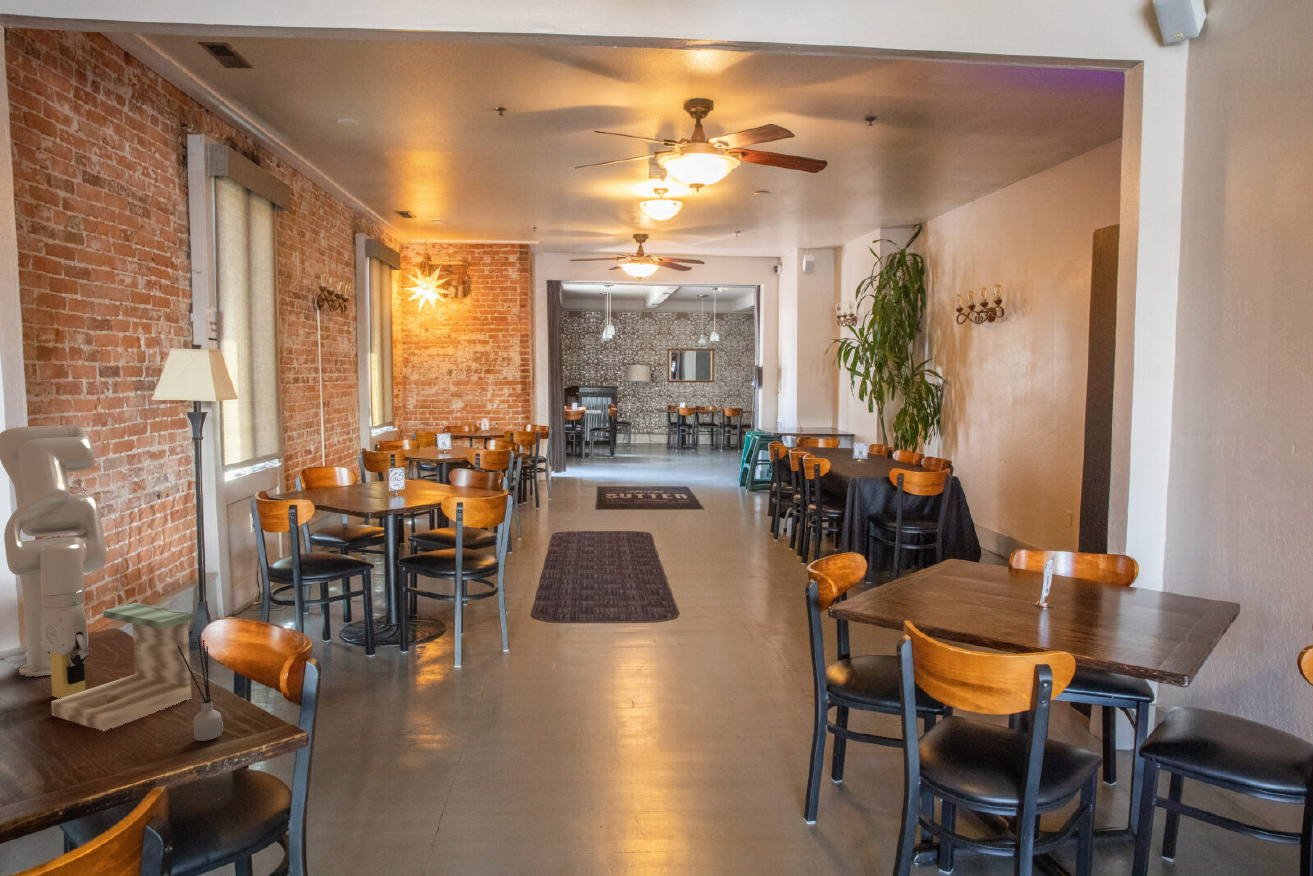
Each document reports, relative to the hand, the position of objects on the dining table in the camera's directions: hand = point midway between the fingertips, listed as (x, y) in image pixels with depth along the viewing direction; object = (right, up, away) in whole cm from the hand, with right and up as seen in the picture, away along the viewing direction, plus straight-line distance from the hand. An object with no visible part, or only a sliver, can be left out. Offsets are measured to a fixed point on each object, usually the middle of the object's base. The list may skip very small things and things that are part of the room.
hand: (68, 679), depth 176 cm
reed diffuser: (+42, -5, -22) cm, 48 cm away
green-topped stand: (+17, -4, -6) cm, 18 cm away
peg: (0, -3, 0) cm, 3 cm away
